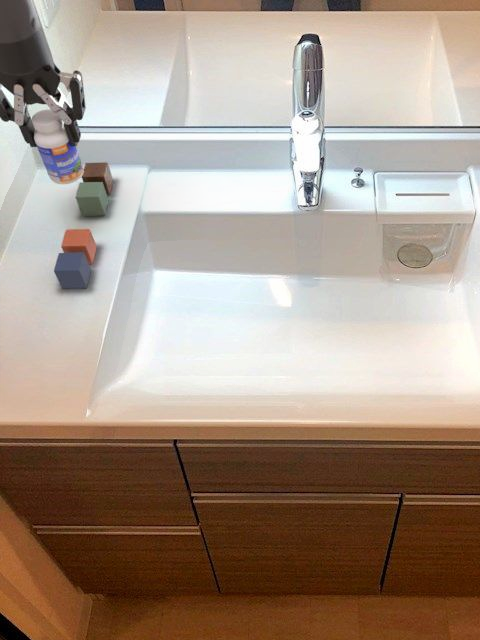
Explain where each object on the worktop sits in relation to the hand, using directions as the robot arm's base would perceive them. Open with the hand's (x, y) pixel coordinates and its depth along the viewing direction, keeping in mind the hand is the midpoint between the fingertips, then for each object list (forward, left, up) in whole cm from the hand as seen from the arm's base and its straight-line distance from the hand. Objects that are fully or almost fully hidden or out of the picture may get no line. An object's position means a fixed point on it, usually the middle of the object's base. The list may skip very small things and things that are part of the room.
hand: (55, 143), depth 95 cm
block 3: (+3, -5, -17) cm, 18 cm away
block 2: (-3, +5, -17) cm, 18 cm away
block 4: (+6, -10, -17) cm, 21 cm away
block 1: (-6, +10, -17) cm, 21 cm away
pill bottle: (0, 0, -6) cm, 6 cm away
